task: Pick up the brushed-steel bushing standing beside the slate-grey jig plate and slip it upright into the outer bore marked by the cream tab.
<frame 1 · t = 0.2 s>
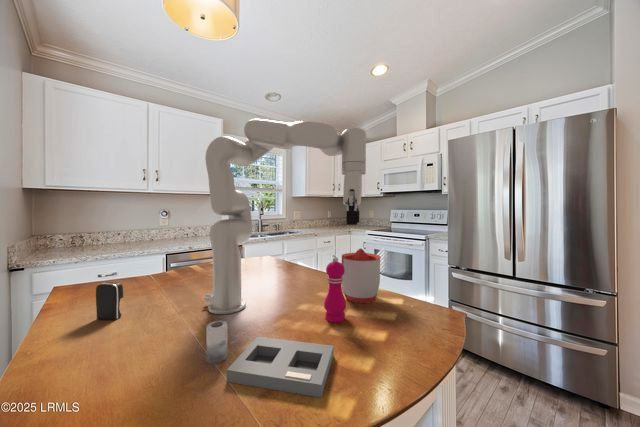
hand: (353, 223, 81), 31 cm above the counter, fingers open, 9 cm apart
pepper mill: (335, 318, 83), on the counter
battery charger: (110, 318, 83), on the counter
jig: (284, 367, 57), on the counter
citrus juicer: (357, 299, 102), on the counter
bushing: (217, 358, 61), on the counter
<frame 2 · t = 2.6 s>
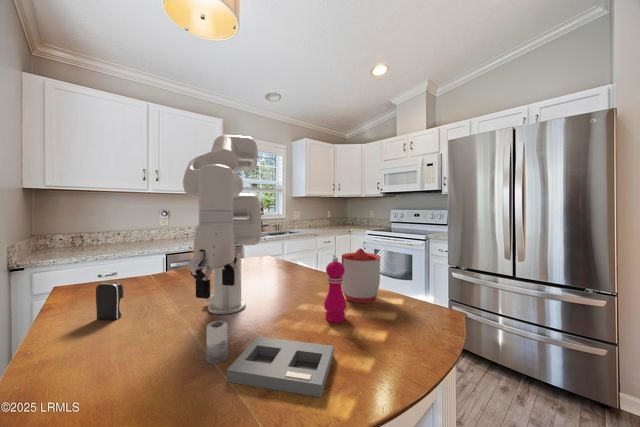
hand: (216, 291, 60), 16 cm above the counter, fingers open, 9 cm apart
nothing on the counter moved.
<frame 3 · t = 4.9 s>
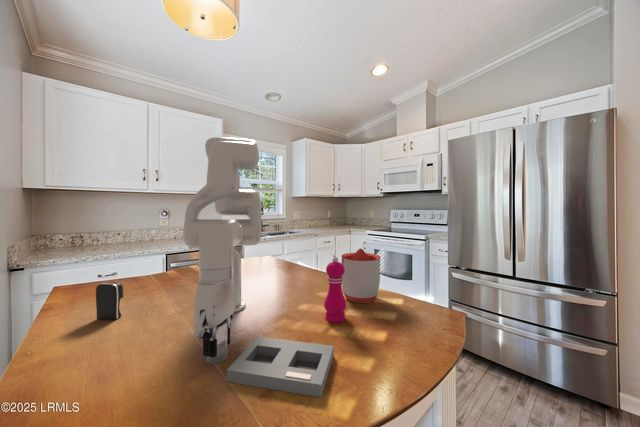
hand: (217, 348, 61), 2 cm above the counter, fingers closed on bushing, 4 cm apart
bushing: (217, 357, 61), on the counter, touching gripper
everything else where it was.
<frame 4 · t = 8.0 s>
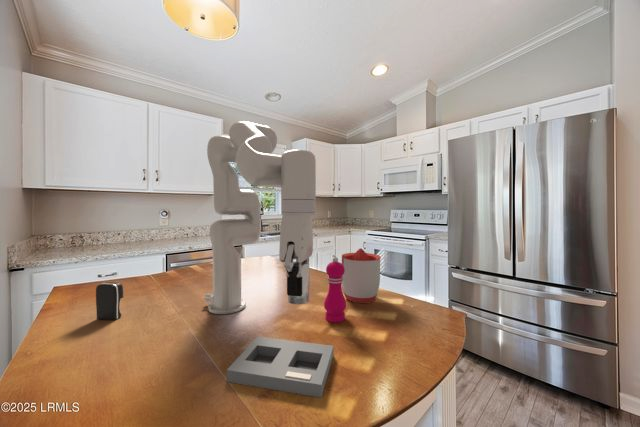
hand: (298, 290, 56), 18 cm above the counter, fingers closed on bushing, 4 cm apart
bushing: (298, 300, 56), point 16 cm above the counter, touching gripper
everything else where it was.
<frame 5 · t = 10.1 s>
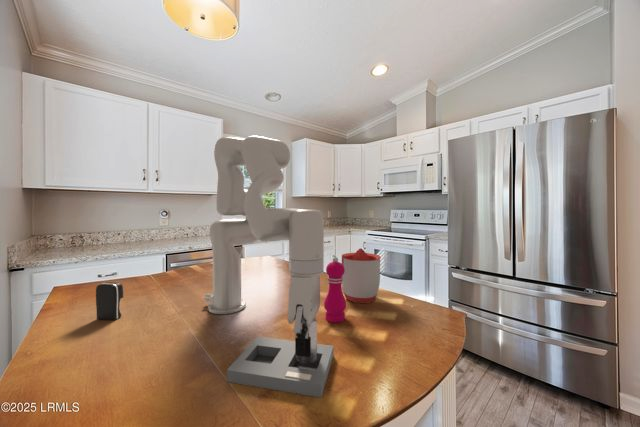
hand: (306, 347, 56), 5 cm above the counter, fingers closed on bushing, 4 cm apart
bushing: (306, 357, 56), point 3 cm above the counter, touching gripper
everything else where it was.
when the fingers open (4 cm above the counter, at t = 11.5 s): bushing drops 1 cm, resting on jig.
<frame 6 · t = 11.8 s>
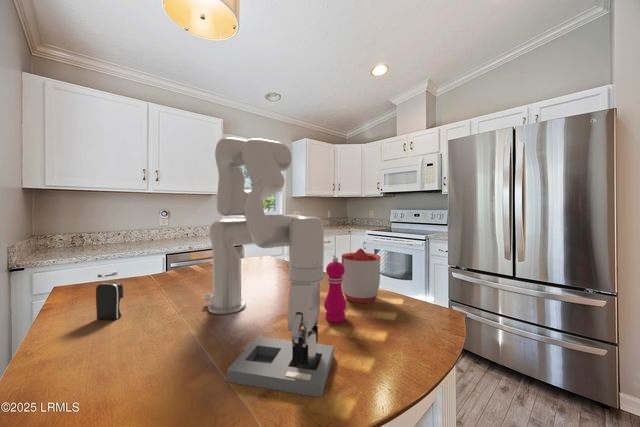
hand: (306, 351, 56), 4 cm above the counter, fingers open, 8 cm apart
bushing: (305, 369, 56), resting on jig
everything else where it was.
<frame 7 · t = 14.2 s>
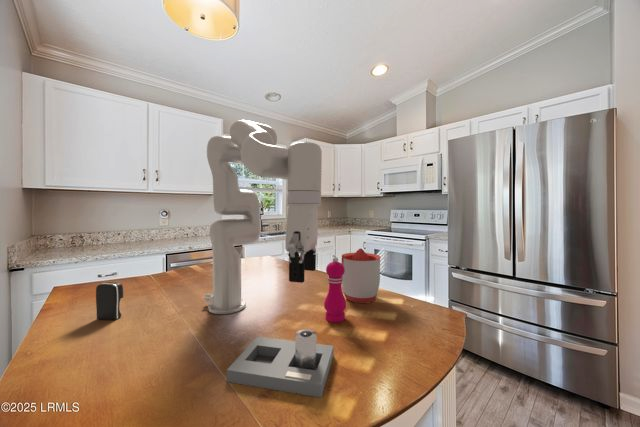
hand: (303, 275, 58), 21 cm above the counter, fingers open, 9 cm apart
nothing on the counter moved.
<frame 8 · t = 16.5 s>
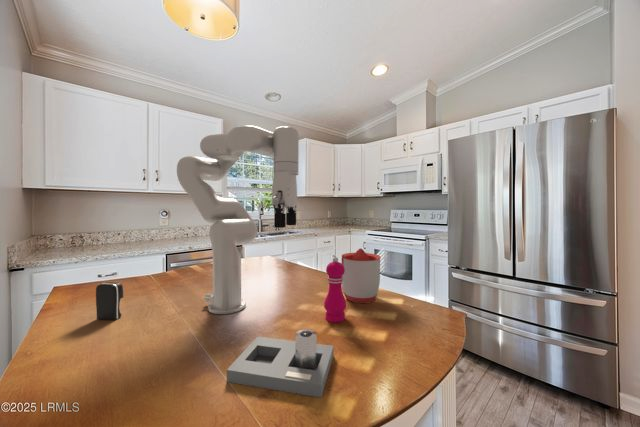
hand: (285, 226, 78), 30 cm above the counter, fingers open, 9 cm apart
nothing on the counter moved.
at the end: bushing 0.0 cm from the target spot on the jig, point 0.2 cm above the jig's base; bushing tilted 0°; the gripper is holding nothing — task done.
